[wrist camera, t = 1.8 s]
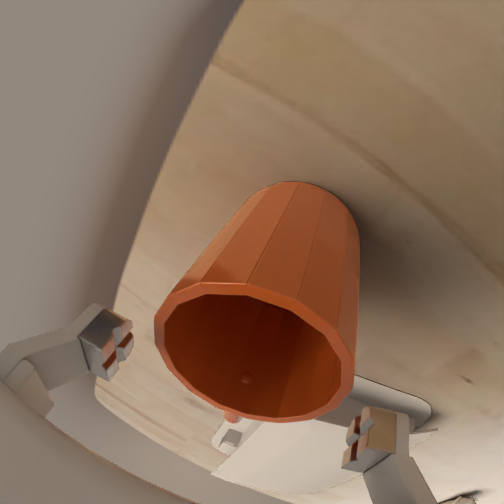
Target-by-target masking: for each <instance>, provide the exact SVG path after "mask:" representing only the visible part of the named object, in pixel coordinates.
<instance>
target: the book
mask: <svg viewBox="0 0 504 504" xmlns="http://www.w3.org/2000/svg"><path fill="white" fill-rule="evenodd" d="M366 406H373V407H377V408H382V409H387V410H391V411H394V412H399V413H404V414H407V415H408V417H409V449H410V448H411V447H413V446H415V445H416V444H418V443H420V442H421V441H423V440H424V439H426V438H427V437H429V436H431V435H432V434H434V433H435V432H437V431H438V429H431V430H424V431H417V432H414V429H416V428H417V427H418V426H420V425H421V424H423V423H424V422H425V421H426V420H427V419H428V418H429V416H430V415H431V414H432V413H431V408H430V404H428V403H427V402H425V401H424V400H422V399H420V398H418V397H415V396H412V395H409V394H407V393H404V392H401V391H398V390H395V389H392V388H389V387H387V386H384V385H381V384H378V383H375V382H373V381H370V380H367V379H365V378H362V377H359V376H357V375H355V376H354V386H353V389H352V390H351V391H350V393H349V394H348V395H347V396H346V398H345V399H344V400H343V401H342V402H341V404H340V405H339V406H338V407H337V408H336V409H334V410H332V411H330V412H328V413H326V414H324V415H321V416H319V417H317V418H315V419H312V420H308V421H300V422H290V423H272V422H265V421H258V420H251V419H246V418H243V419H242V420H241V421H240V422H238V423H235V424H233V423H229V422H228V421H227V420H226V419H225V421H224V422H223V424H222V425H221V427H220V428H219V430H218V431H217V432H216V434H215V435H214V437H213V438H212V440H211V441H212V445H213V446H215V447H216V448H217V450H219V451H221V452H223V453H225V454H227V455H229V457H228V458H227V459H226V460H225V461H224V462H223V463H222V464H221V465H220V466H219V467H218V468H217V469H216V470H215V471H213V472H212V474H211V475H213V476H215V477H218V478H220V479H223V480H226V481H229V482H232V483H236V484H239V485H243V486H246V487H250V488H255V489H260V490H265V491H270V492H277V493H288V494H310V493H320V492H323V491H325V490H328V489H330V488H333V487H335V486H337V485H340V484H342V483H344V482H346V481H349V480H351V479H353V478H355V477H357V476H359V475H361V474H363V473H360V472H355V471H350V470H346V469H341V466H342V459H343V453H344V451H345V450H346V449H347V448H348V445H347V443H346V441H345V440H346V434H347V431H348V428H349V426H350V424H351V422H352V421H353V419H354V418H355V417H357V416H360V415H361V413H362V410H363V409H364V408H365V407H366Z"/></svg>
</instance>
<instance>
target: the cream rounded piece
mask: <svg viewBox="0 0 504 504" xmlns="http://www.w3.org/2000/svg"><path fill="white" fill-rule="evenodd" d="M475 501H478V499H476V498H473V497H471V496H467V498H462V497H461V496H459V497H458V498H457V499H456V500H451V501H445V502H443V503H440V504H476V502H475Z"/></svg>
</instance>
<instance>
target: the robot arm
mask: <svg viewBox="0 0 504 504" xmlns="http://www.w3.org/2000/svg"><path fill="white" fill-rule="evenodd" d="M132 328H133V327H132V321H131V320H129V319H127V318H125V317H123V316H121V315H119V314H117V313H115V312H113V311H111V310H109V309H107V308H106V307H104V306H102V305H100V304H98V303H93V304H91V305H90V306H89V307H88V308H87V309H86V310H85V311H84V312H83V313H82V314H81V315H80V316H79V317H78V318H77V319H76V320H75V321H74V322H73V323H72V324H71V325H70V326H69V327H68V328H67V329H66V330H64V329H59V330H55V331H52V332H49V333H45V334H42V335H38V336H35V337H32V338H28V339H25V340H22V341H18V342H15V343H11V344H9V345H8V346H7V347H6V348H5V349H4V350H3V351H2V352H1V353H0V504H199V503H197V502H194V501H191V500H189V499H186V498H184V497H181V496H179V495H177V494H174V493H172V492H170V491H167V490H165V489H163V488H161V487H158V486H157V485H154V484H152V483H150V482H148V481H146V480H144V479H142V478H140V477H138V476H136V475H134V474H132V473H130V472H128V471H126V470H125V469H123V468H121V467H119V466H117V465H116V464H114V463H112V462H110V461H109V460H107V459H105V458H103V457H102V456H100V455H99V454H97V453H95V452H94V451H92V450H90V449H89V448H87V447H86V446H84V445H83V444H81V443H80V442H78V441H76V440H75V439H74V438H72V437H71V436H69V435H68V434H66V433H64V432H63V431H62V430H61V429H59V428H57V427H56V426H55V425H54V424H52V423H51V422H50V421H48V420H47V419H46V418H45V417H46V415H47V414H48V412H49V411H50V410H51V409H52V407H53V406H54V402H53V400H52V398H51V397H50V395H49V393H48V391H50V390H52V389H54V388H57V387H59V386H61V385H63V384H65V383H68V382H70V381H72V380H74V379H76V378H79V377H81V376H83V375H85V374H87V373H89V371H90V372H92V373H94V374H96V375H97V376H99V377H101V378H103V379H105V380H107V381H110V380H111V378H112V377H113V376H114V374H115V373H116V372H117V370H118V369H119V363H118V362H121V361H124V360H126V358H127V357H128V356H129V354H130V352H131V350H132V348H133V343H134V337H133V335H132V333H131V332H130V330H131V329H132ZM345 441H346V443H347V445H348V448H347V449H346V450H345V451H344V453H343V459H342V466H341V469H346V470H350V471H355V472H360V473H363V477H364V480H365V483H366V486H367V488H368V491H369V494H370V497H371V500H372V502H373V504H438V503H437V501H436V499H435V498H434V496H433V494H432V492H431V490H430V488H429V486H428V485H427V483H426V481H425V479H424V477H423V475H422V474H421V472H420V470H419V468H418V466H417V464H416V463H415V461H414V459H413V457H410V456H409V417H408V415H407V414H404V413H399V412H394V411H391V410H387V409H382V408H377V407H373V406H366V407H365V408H364V409H363V410H362V413H361V415H360V416H357V417H355V418H354V419H353V421H352V422H351V424H350V426H349V428H348V431H347V434H346V440H345Z"/></svg>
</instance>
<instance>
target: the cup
mask: <svg viewBox="0 0 504 504" xmlns="http://www.w3.org/2000/svg"><path fill="white" fill-rule="evenodd" d="M359 291H360V240H359V232H358V228H357V225H356V223H355V220H354V218H353V216H352V215H351V213H350V211H349V210H348V209H347V207H346V206H345V205H344V204H343V203H342V202H341V201H340V200H339V199H338V198H337V197H335V196H334V195H333V194H331V193H330V192H328V191H326V190H324V189H322V188H320V187H318V186H315V185H312V184H308V183H303V182H282V183H277V184H273V185H270V186H268V187H265V188H263V189H261V190H260V191H258V192H257V193H255V194H254V195H253V196H251V197H250V198H249V199H248V200H247V201H246V202H245V203H244V204H243V206H242V207H241V208H240V209H239V210H238V211H237V213H236V214H235V215H234V216H233V217H232V219H231V220H230V221H229V222H228V223H227V224H226V226H225V227H224V228H223V229H222V230H221V232H220V233H219V234H218V235H217V236H216V238H215V239H214V240H213V241H212V242H211V244H210V245H209V246H208V247H207V248H206V250H205V251H204V252H203V253H202V254H201V256H200V257H199V258H198V259H197V261H196V262H195V263H194V264H193V265H192V267H191V268H190V269H189V270H188V271H187V273H186V274H185V275H184V276H183V278H182V279H181V280H180V281H179V283H178V284H177V285H176V286H175V288H174V289H173V290H172V291H171V293H170V294H169V295H168V296H167V298H166V299H165V301H164V302H163V304H162V306H161V307H160V309H159V310H158V312H157V313H156V315H155V317H154V335H155V344H156V346H157V348H158V350H159V352H160V354H161V356H162V358H163V360H164V362H165V364H166V366H167V368H168V369H169V370H170V371H171V372H172V373H173V374H174V375H175V376H176V377H177V379H178V380H179V381H180V382H181V383H182V384H183V385H184V386H185V387H186V388H187V389H188V390H190V391H191V392H193V393H194V394H196V395H197V396H199V397H200V398H202V399H204V400H205V401H207V402H208V403H210V404H212V405H213V406H215V407H217V408H219V409H222V410H224V417H225V419H226V420H227V421H228V422H229V423H233V424H235V423H238V422H240V421H241V420H242V419H243V418H246V419H251V420H258V421H265V422H272V423H290V422H300V421H308V420H312V419H315V418H317V417H319V416H321V415H324V414H326V413H328V412H330V411H332V410H334V409H336V408H337V407H338V406H339V405H340V404H341V402H342V401H343V400H344V399H345V398H346V396H347V395H348V394H349V393H350V391H351V390H352V389H353V386H354V376H355V364H356V352H357V337H358V319H359Z"/></svg>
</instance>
